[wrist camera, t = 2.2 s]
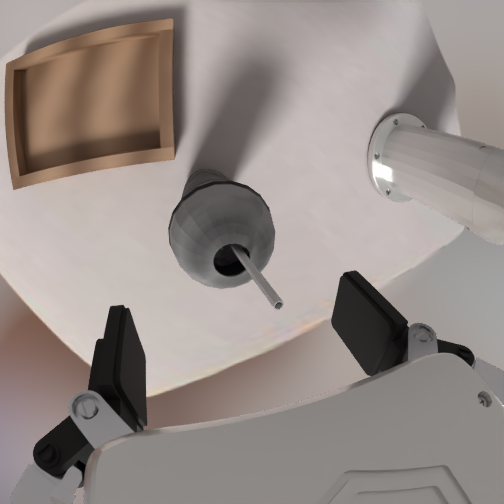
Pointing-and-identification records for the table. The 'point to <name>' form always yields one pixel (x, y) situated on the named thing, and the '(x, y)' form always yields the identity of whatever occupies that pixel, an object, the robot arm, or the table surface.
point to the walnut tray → (91, 103)
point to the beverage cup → (223, 233)
